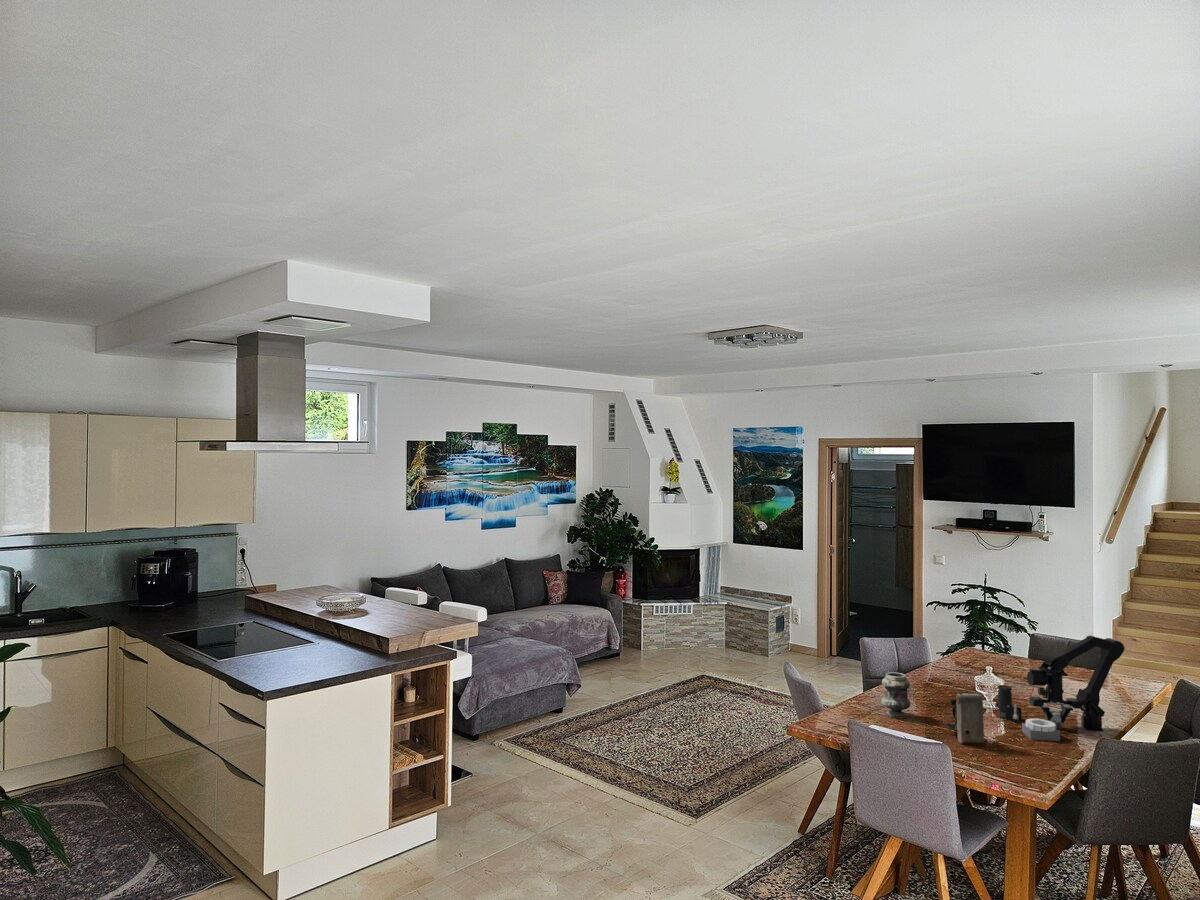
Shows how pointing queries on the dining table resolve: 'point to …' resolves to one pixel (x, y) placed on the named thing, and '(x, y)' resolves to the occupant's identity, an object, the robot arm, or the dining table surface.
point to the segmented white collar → (1040, 730)
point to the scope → (1007, 704)
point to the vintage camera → (968, 718)
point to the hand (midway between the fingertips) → (1055, 722)
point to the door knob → (1056, 718)
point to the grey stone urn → (896, 694)
